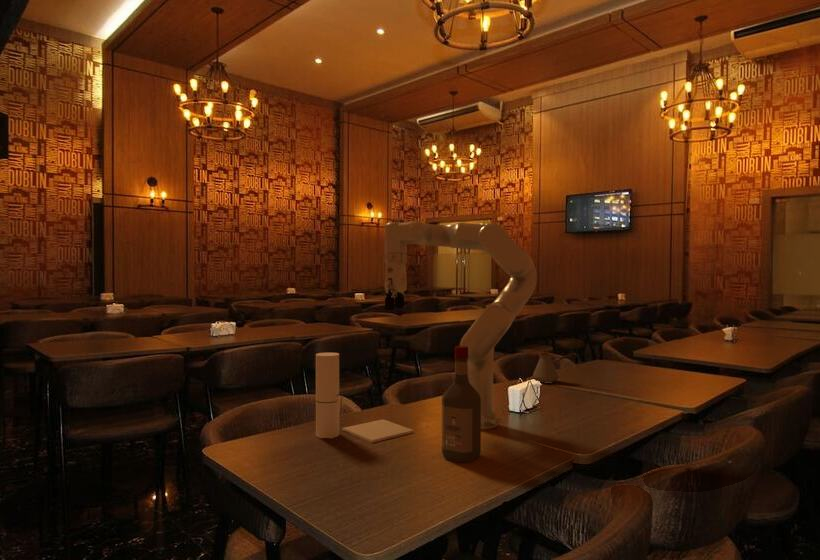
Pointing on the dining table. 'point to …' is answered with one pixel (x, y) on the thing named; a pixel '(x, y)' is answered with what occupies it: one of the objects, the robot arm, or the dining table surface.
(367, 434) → the mat
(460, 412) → the liquor
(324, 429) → the cylindrical container
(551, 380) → the coffee pot
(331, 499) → the dining table surface
